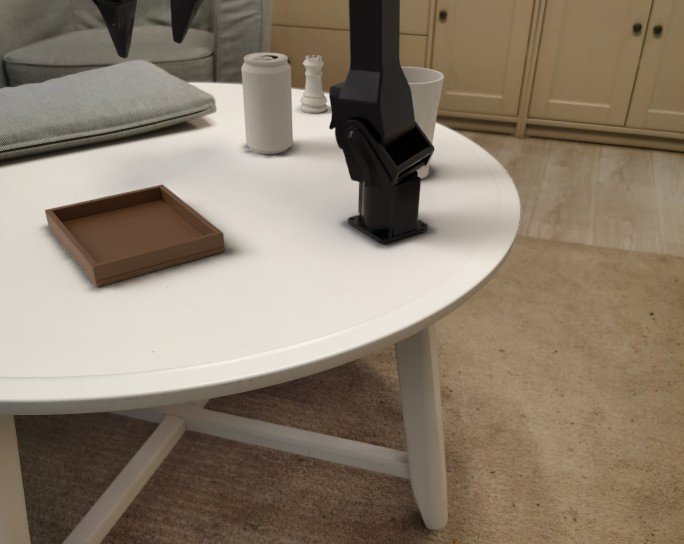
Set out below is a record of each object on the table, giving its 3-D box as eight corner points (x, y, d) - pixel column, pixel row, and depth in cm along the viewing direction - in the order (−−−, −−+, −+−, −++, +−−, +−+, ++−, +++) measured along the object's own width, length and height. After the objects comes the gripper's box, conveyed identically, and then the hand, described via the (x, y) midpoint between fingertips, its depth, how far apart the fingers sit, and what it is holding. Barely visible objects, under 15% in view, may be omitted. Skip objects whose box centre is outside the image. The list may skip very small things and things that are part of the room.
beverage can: (302, 146, 99) (300, 55, 92) (274, 159, 94) (270, 64, 87) (265, 137, 101) (261, 48, 95) (236, 150, 97) (230, 57, 90)
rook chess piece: (297, 112, 111) (295, 59, 107) (303, 104, 115) (302, 52, 111) (325, 114, 111) (325, 60, 106) (330, 106, 115) (330, 54, 110)
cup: (431, 185, 87) (441, 85, 80) (368, 180, 88) (371, 80, 82) (437, 163, 94) (446, 69, 87) (378, 158, 95) (382, 64, 88)
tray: (225, 251, 72) (223, 232, 71) (96, 287, 66) (92, 267, 64) (164, 201, 82) (162, 184, 81) (48, 228, 76) (44, 209, 75)
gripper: (151, -123, 83) (154, 18, 92) (17, -120, 69) (37, 45, 79) (227, -102, 79) (222, 42, 89) (102, -95, 66) (112, 74, 75)
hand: (151, 49), depth 83 cm, fingers open, 9 cm apart
